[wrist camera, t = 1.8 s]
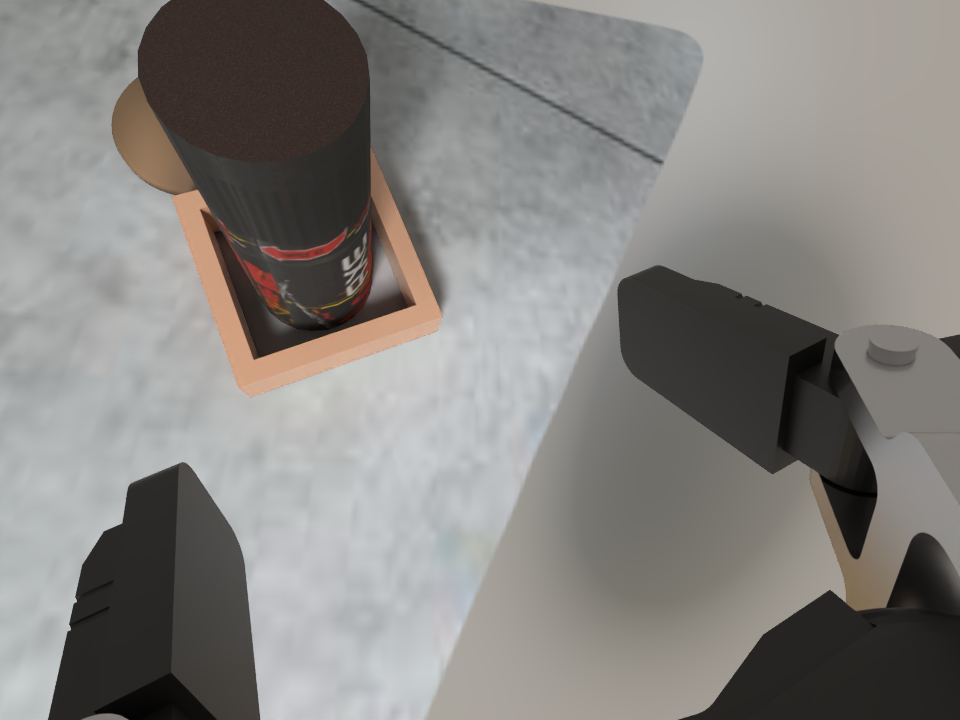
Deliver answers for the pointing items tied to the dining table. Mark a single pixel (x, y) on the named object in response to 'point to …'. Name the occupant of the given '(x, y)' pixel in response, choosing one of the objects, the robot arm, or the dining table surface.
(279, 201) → the deodorant
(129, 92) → the coaster
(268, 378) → the orange square frame
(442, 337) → the dining table surface
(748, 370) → the robot arm
